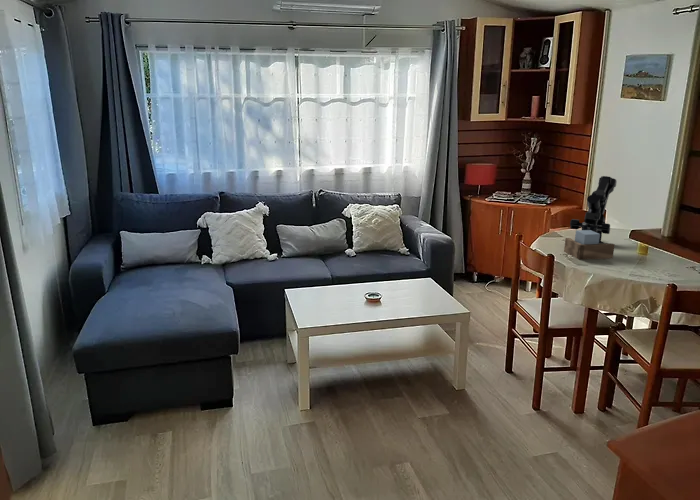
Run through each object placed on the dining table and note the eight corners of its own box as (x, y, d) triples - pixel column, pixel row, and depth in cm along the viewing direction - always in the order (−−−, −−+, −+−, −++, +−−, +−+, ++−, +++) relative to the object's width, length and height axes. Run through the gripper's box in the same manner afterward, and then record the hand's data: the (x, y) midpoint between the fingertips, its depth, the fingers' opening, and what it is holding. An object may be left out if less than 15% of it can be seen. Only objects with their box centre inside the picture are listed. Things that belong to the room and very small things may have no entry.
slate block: (572, 253, 283) (576, 230, 279) (587, 252, 284) (590, 230, 281) (581, 258, 275) (584, 234, 272) (596, 257, 276) (600, 234, 273)
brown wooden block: (563, 251, 286) (565, 238, 284) (596, 250, 289) (598, 237, 287) (578, 259, 273) (580, 245, 271) (612, 258, 276) (614, 244, 274)
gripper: (573, 203, 286) (565, 229, 280) (612, 208, 277) (606, 234, 271) (574, 215, 295) (567, 240, 289) (612, 220, 286) (606, 246, 280)
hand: (586, 240), depth 282 cm, fingers closed
